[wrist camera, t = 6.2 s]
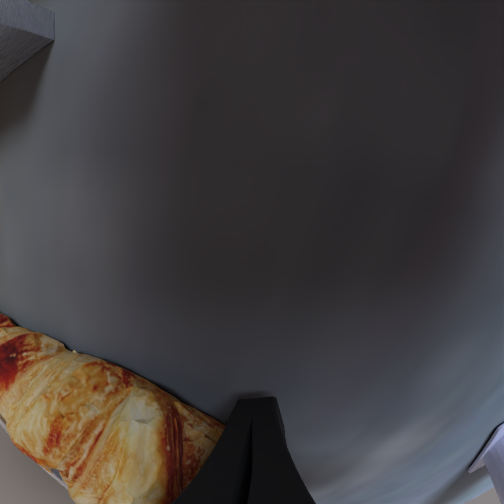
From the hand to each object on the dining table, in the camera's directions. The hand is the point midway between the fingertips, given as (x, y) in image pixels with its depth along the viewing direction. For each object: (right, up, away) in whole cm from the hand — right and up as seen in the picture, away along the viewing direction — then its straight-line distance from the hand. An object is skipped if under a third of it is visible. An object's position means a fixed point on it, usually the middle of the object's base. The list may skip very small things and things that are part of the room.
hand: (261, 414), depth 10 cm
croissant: (-6, -2, +3) cm, 7 cm away
